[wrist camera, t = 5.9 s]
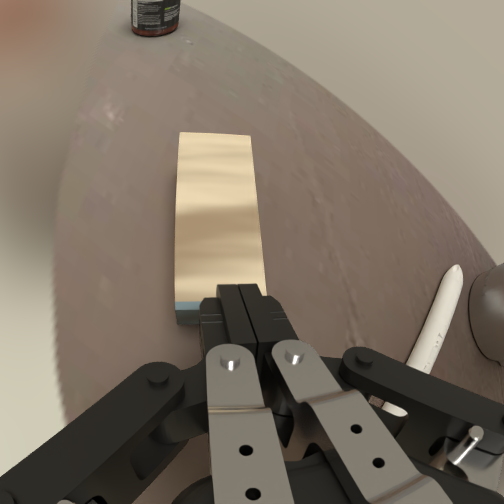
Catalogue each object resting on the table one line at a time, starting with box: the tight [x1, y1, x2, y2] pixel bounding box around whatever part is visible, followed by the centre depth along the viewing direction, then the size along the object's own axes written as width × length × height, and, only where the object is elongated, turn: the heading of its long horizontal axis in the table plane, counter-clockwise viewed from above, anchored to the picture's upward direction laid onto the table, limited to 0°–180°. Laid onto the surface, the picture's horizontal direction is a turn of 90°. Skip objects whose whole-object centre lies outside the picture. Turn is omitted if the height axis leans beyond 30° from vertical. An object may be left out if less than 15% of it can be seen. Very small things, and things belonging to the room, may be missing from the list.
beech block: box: [175, 132, 267, 324], centre depth 19 cm, size 4×4×11 cm
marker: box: [382, 265, 463, 416], centre depth 20 cm, size 18×2×2 cm, turn 142°
